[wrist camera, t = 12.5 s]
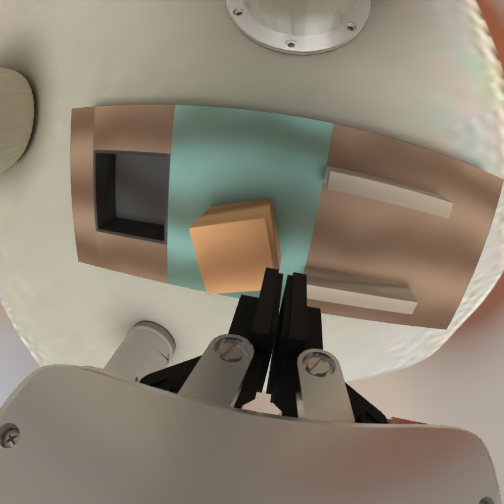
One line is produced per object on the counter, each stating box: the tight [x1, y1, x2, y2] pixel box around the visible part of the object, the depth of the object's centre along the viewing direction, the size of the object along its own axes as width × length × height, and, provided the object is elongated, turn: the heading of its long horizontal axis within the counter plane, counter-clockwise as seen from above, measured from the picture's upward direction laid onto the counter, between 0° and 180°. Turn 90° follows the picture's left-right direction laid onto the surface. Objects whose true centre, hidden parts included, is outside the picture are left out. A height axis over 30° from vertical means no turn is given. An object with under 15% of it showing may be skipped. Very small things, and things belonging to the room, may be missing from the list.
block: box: [189, 198, 281, 294], centre depth 22 cm, size 5×5×5 cm
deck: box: [70, 105, 504, 330], centre depth 24 cm, size 16×40×7 cm, turn 83°
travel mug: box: [104, 322, 175, 377], centre depth 27 cm, size 6×7×20 cm
